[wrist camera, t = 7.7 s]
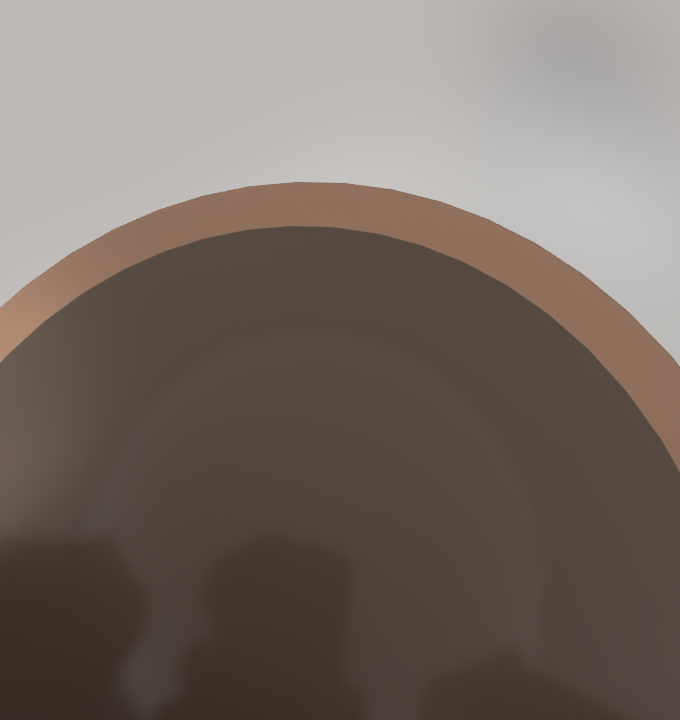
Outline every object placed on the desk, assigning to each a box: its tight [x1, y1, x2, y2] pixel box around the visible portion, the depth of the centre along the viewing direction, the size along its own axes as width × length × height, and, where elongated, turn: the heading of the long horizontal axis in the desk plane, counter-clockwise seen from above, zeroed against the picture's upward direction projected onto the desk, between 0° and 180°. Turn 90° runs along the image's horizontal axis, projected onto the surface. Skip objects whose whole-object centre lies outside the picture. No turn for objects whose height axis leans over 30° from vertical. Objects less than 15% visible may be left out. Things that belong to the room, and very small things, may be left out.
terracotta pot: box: [0, 182, 680, 720], centre depth 9 cm, size 7×7×13 cm
